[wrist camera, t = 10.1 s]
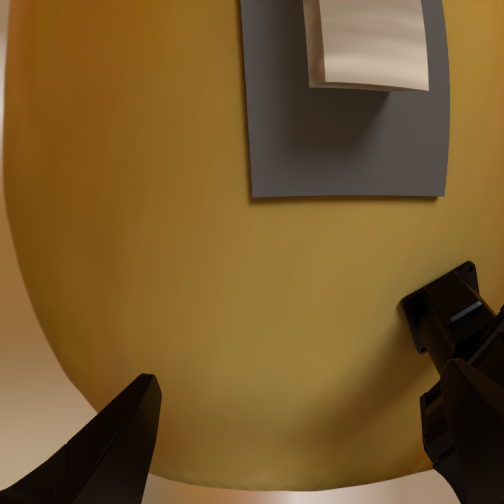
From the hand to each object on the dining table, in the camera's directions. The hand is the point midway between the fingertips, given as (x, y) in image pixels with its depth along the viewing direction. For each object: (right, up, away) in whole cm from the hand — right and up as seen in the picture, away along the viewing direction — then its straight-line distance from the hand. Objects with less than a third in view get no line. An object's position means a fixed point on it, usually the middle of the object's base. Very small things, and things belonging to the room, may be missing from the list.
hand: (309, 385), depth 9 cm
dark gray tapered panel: (+4, +15, +6) cm, 17 cm away
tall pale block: (+4, +12, +4) cm, 13 cm away
